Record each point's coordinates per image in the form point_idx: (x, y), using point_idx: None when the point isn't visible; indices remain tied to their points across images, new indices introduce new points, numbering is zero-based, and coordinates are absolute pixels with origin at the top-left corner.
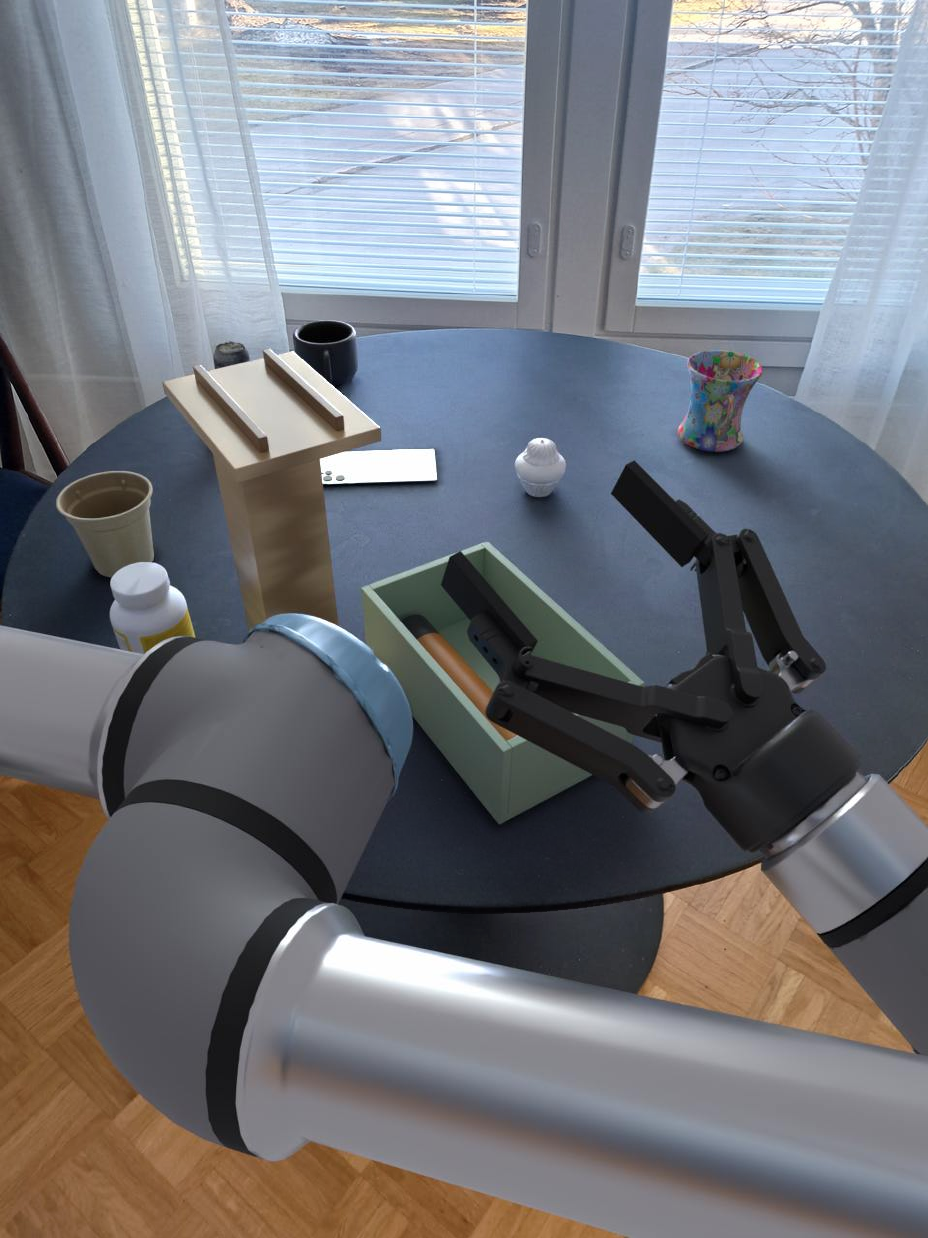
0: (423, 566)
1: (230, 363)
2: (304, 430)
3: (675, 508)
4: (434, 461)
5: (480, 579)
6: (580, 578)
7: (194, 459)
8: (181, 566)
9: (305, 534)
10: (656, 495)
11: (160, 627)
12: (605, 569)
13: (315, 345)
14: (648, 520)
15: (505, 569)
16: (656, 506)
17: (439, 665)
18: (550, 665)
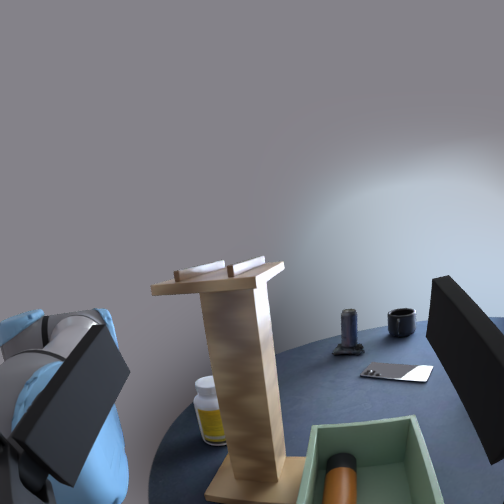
0: (360, 422)
1: (346, 316)
2: (214, 277)
3: (496, 342)
4: (430, 372)
5: (78, 352)
6: (480, 447)
7: (321, 358)
8: None
9: (246, 368)
10: (467, 320)
11: (205, 407)
12: None
13: (394, 316)
14: (460, 374)
15: (415, 435)
16: (468, 343)
17: (331, 489)
18: (4, 474)
